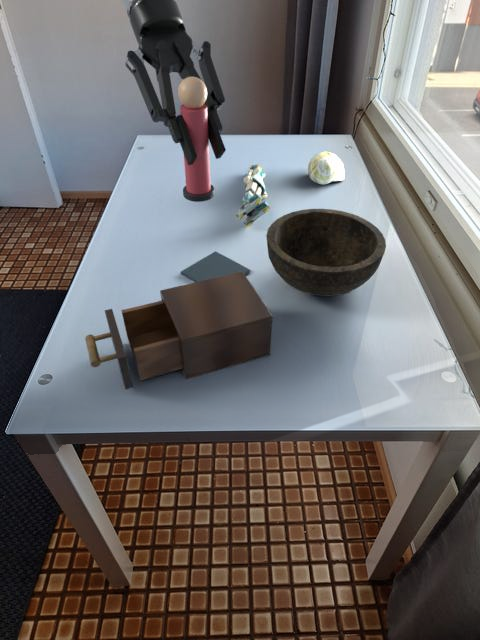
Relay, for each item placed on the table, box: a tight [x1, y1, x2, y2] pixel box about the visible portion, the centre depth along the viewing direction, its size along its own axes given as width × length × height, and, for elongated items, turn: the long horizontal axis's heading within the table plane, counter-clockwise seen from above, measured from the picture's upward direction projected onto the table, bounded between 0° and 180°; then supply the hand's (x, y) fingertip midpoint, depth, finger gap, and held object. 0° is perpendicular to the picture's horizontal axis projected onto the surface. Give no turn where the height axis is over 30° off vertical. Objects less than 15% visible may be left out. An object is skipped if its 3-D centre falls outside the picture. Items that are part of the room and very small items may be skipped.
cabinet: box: [159, 271, 274, 380], centre depth 78 cm, size 15×13×9 cm
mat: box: [180, 251, 252, 283], centre depth 95 cm, size 10×10×1 cm
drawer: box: [84, 300, 184, 390], centre depth 75 cm, size 17×11×7 cm, turn 111°
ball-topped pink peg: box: [177, 77, 216, 203], centre depth 73 cm, size 5×5×18 cm
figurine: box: [235, 164, 271, 228], centre depth 117 cm, size 7×8×30 cm
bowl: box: [265, 208, 387, 297], centre depth 90 cm, size 22×22×10 cm
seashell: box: [307, 151, 345, 185], centre depth 125 cm, size 10×10×10 cm
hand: (206, 157), depth 71 cm, fingers closed on ball-topped pink peg, 4 cm apart
